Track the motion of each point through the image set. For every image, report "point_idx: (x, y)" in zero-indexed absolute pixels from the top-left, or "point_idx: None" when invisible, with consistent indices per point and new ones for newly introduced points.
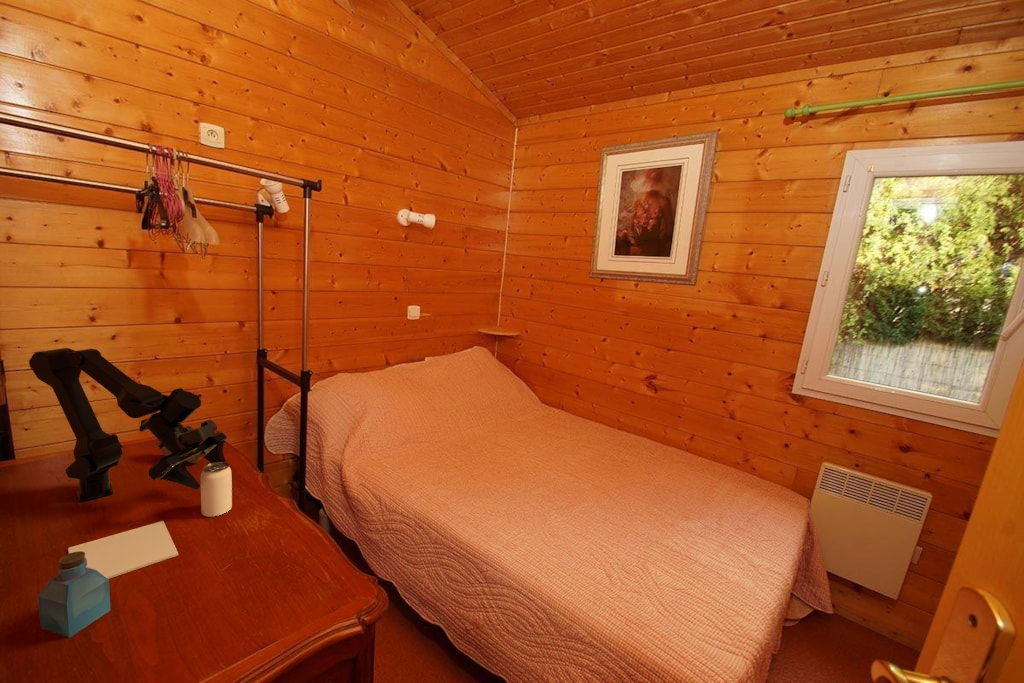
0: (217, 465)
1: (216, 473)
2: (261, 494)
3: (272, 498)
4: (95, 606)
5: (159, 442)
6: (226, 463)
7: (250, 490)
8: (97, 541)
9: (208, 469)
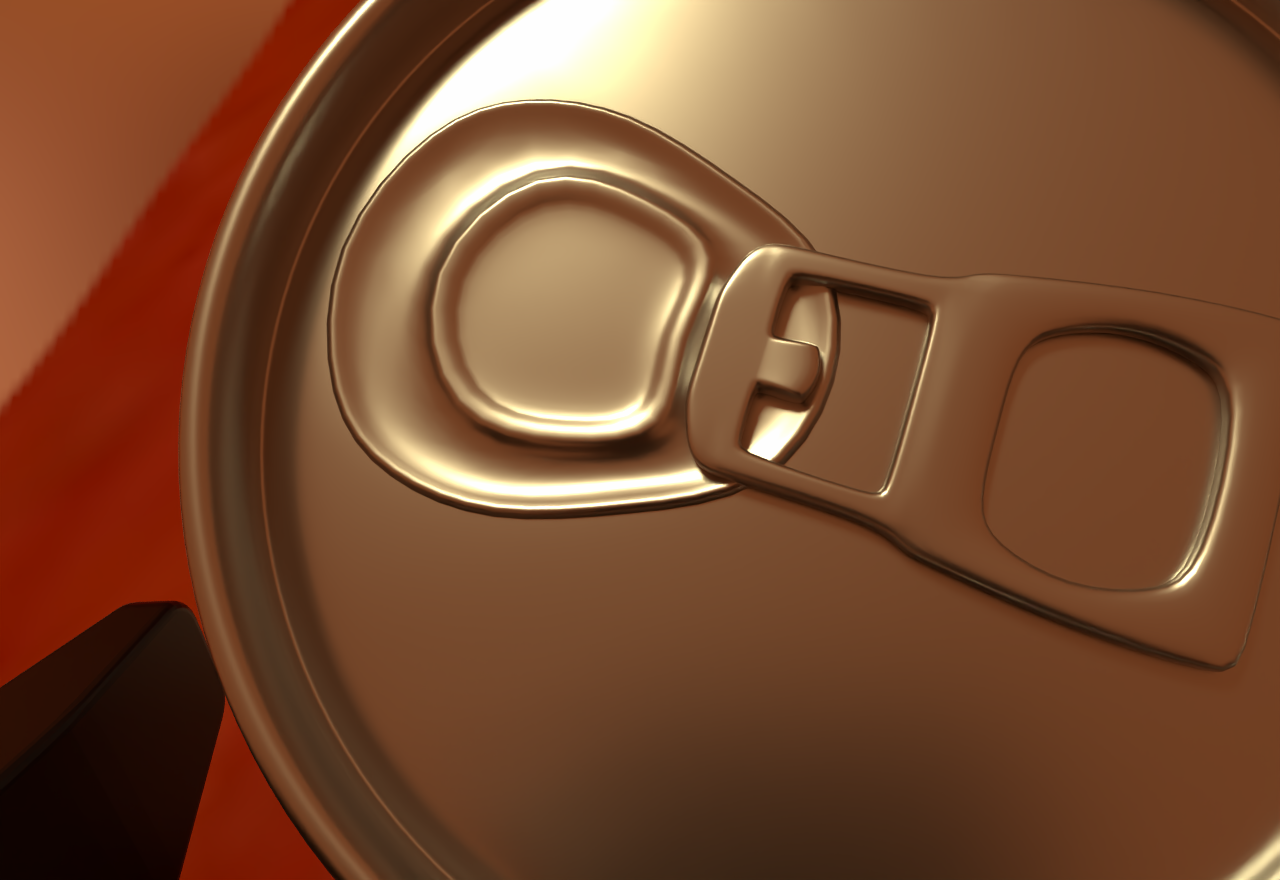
0: (535, 566)
1: (1253, 4)
2: (177, 312)
3: (255, 91)
4: None
5: None
6: (253, 257)
7: (91, 559)
8: None
9: (1198, 593)
